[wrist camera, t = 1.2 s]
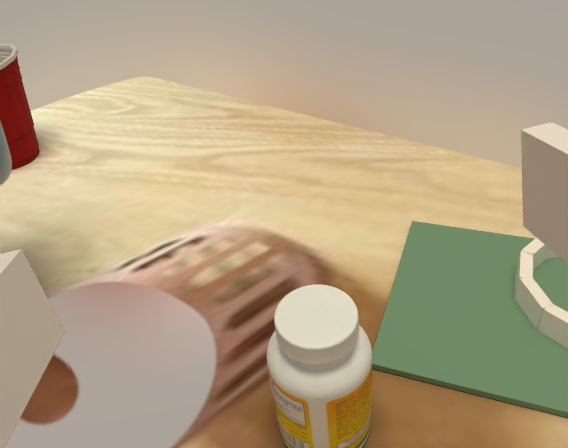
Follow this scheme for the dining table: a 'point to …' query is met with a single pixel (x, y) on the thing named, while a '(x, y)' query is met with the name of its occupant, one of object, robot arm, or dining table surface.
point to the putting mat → (472, 319)
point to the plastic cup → (15, 110)
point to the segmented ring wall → (539, 294)
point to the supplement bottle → (320, 370)
